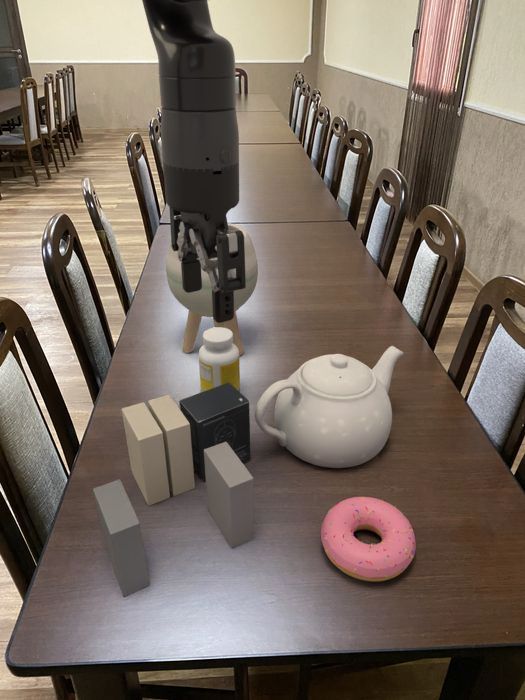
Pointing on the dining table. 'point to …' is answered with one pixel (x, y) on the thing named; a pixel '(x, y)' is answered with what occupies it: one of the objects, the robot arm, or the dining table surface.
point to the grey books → (222, 500)
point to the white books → (159, 448)
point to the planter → (202, 299)
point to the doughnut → (364, 557)
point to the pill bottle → (218, 359)
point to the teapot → (333, 409)
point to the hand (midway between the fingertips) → (207, 304)
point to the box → (217, 423)
